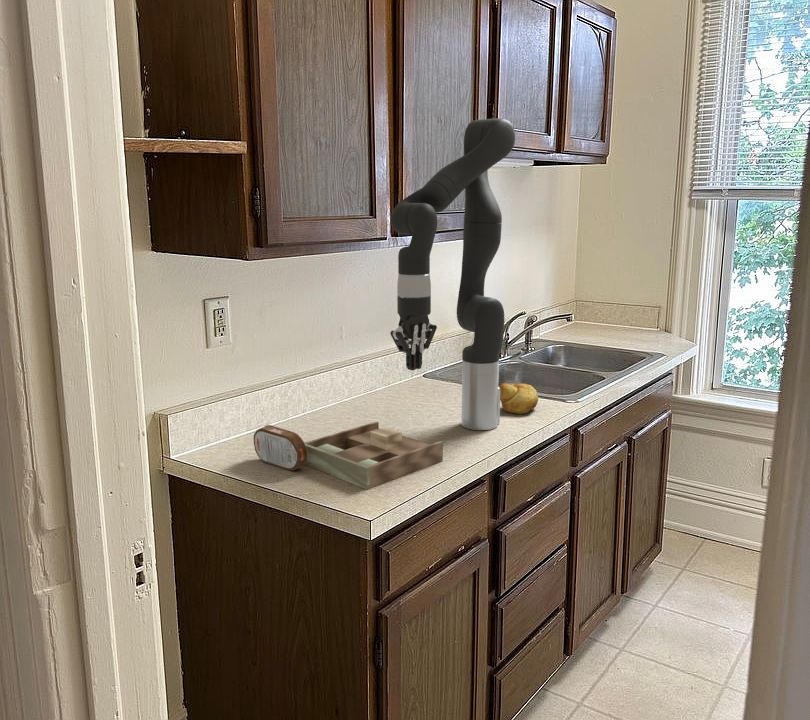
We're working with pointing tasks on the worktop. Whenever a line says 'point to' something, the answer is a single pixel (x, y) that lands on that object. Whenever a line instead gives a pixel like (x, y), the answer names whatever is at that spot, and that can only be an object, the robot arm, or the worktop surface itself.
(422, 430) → the worktop surface
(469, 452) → the worktop surface
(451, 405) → the worktop surface
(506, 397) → the bread roll
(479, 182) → the robot arm
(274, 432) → the tin
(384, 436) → the maple block
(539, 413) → the worktop surface
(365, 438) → the trap box
